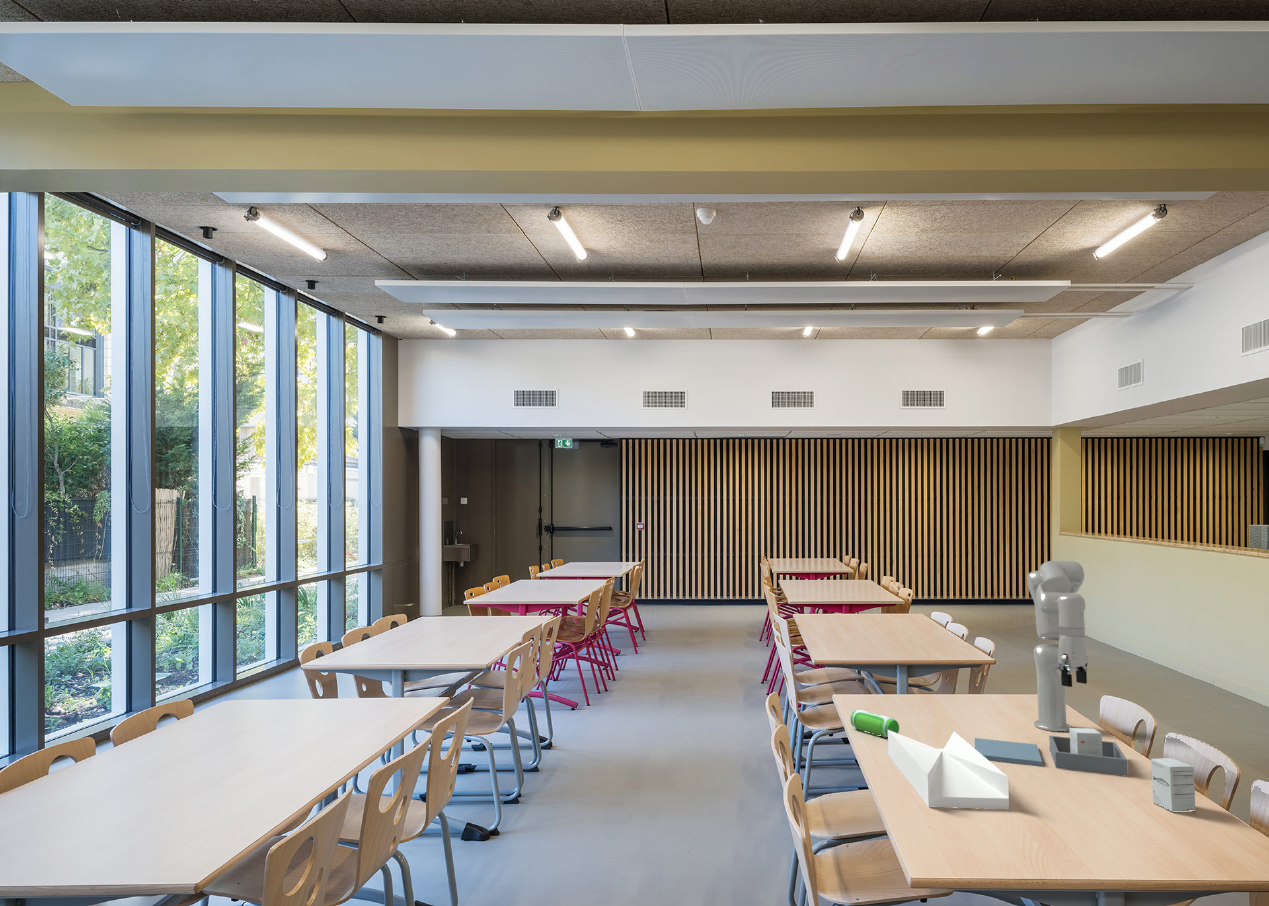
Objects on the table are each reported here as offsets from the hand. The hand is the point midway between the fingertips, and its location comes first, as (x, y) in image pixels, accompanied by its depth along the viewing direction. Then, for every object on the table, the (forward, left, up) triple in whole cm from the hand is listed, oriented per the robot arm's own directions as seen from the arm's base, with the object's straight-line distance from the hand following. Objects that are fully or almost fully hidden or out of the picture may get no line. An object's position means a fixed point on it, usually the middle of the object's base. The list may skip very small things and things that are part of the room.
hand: (1074, 684), depth 259 cm
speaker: (-10, -66, -26) cm, 71 cm away
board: (-2, -21, -26) cm, 33 cm away
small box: (-2, +3, -26) cm, 26 cm away
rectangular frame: (-2, +3, -26) cm, 26 cm away
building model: (+35, -41, -26) cm, 60 cm away
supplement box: (+33, +20, -26) cm, 46 cm away
